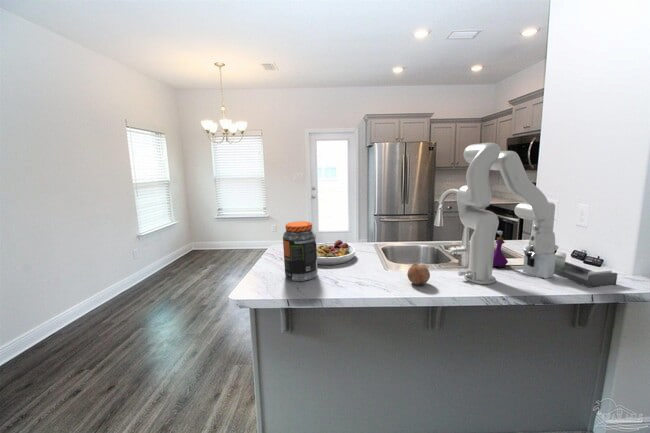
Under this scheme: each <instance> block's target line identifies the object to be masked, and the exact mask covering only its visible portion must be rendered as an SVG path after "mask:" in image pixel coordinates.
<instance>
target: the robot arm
mask: <svg viewBox="0 0 650 433" xmlns="http://www.w3.org/2000/svg"><path fill="white" fill-rule="evenodd" d="M463 158H464V160H465V161H466V163H469V166H468V168H467V169H466V176H465V180H466V184H464V185H463V186H461V187H460V188H459V189H458V191H457V192H456V203H457V210H458V215H459V219H460V222H461V224H462V225H463V226H465V227H467V228H469V229H473V232H472V234H471V236H470V240H469V241H470V242H469V252H468V253H469V256H468V267H467V268H466V269H465V270H464V271H463V270H462V271H458V272H457V274H458V276H459V277H461V276H464V279H465V280H466V281H468V282H471V283H474V284H479V285H492V284H495V283H496V277H495V276H494V275H493V267H494V266H493V256H494V251H495V243H496V242H495V241H496V234H497V232H496V231H498V228H499V224H500V220H499V217H498V216H497V214H496V213H495V212H493V211H491V210H487V209H485V208H487V207H489V206H490V205H491V203H492V192H491V191H492V190H491V185H490V176H489V174H490V171H498V172H500V175H501V178H502V179H503V182H504V184H505V186H506V188H507V189H508V190H509V191H510V192H512V193H513V194H515V195H517V196H519V197H521V198H522V199H524V200H525V201H526V202H525V201H524V202H519V203H518V204H517V205H516V206H515V207H514V209H513V210H514V214H515V216H517V217H518V218H520V219H523V220H529V221H533V223H532V228H531V230H532V231H531V233H530V237H529V242H528V245H527V246H526V247H525V248H523V249H522V250H523V253H524V254H525V255H526V257H528V259H527V265H528V266H531V267H534V257H535V255H541V254H555V253H556V252H558V249H559V246H558V245H557V244H556V236H555V232H554V223H555V214H556V204H555V203H554V202H550V201H548V198H547V196H546V195H545V194H544V193H543V191H541V189H539V187H537V185H535V184H534V183H533V182H532V181H530V180H529V179H530V178H529V177H528V174H527V173H526V170H525V167H524V165H523V162H522V160H521V158H520V156H519V154H518V153H517V152H516V151H513V150H501V147H500V145H499V144H497V143H495V142H483V143H474V144H469V145H468V146H467V147H466V148H464V151H463ZM533 251H534V252H533ZM531 254H532V255H531Z"/></svg>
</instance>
